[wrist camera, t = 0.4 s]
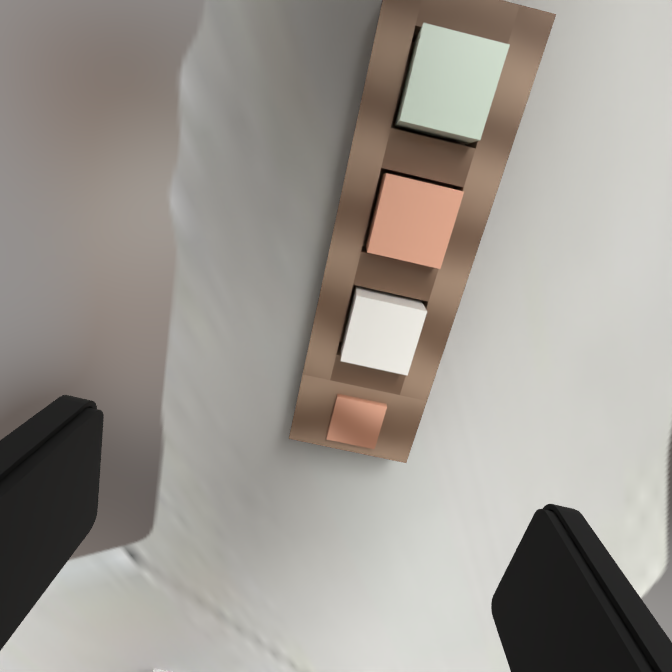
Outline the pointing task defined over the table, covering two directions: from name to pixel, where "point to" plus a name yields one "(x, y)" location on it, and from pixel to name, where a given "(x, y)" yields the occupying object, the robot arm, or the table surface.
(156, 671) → the alarm clock
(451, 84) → the sage key
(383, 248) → the terracotta key
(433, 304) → the console
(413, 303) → the cream key
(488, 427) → the table surface
